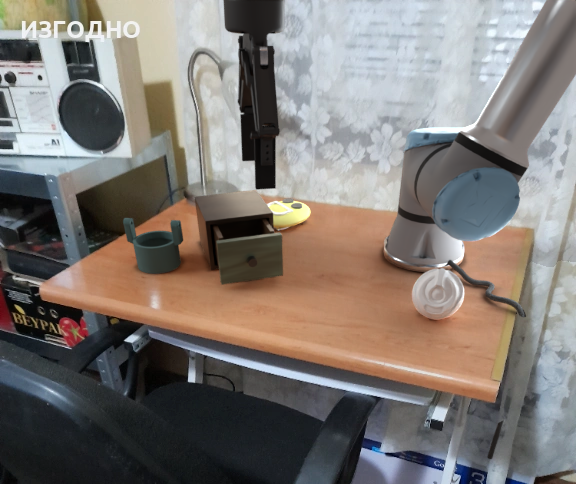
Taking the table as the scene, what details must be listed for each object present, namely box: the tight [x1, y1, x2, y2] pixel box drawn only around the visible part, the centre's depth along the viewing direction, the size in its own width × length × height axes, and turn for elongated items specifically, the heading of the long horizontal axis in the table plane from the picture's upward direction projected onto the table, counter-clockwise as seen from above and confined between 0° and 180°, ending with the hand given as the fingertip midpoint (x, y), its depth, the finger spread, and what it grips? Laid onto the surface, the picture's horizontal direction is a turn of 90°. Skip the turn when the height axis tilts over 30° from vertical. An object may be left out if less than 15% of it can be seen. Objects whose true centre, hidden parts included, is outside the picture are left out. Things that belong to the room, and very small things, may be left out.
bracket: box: [122, 217, 184, 275], centre depth 100 cm, size 9×9×9 cm
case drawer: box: [210, 218, 284, 286], centre depth 97 cm, size 14×11×8 cm
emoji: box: [266, 197, 311, 232], centre depth 117 cm, size 4×12×12 cm
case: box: [194, 189, 275, 271], centre depth 104 cm, size 14×13×10 cm
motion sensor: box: [411, 268, 465, 321], centre depth 84 cm, size 8×8×8 cm
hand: (257, 173), depth 77 cm, fingers open, 13 cm apart
